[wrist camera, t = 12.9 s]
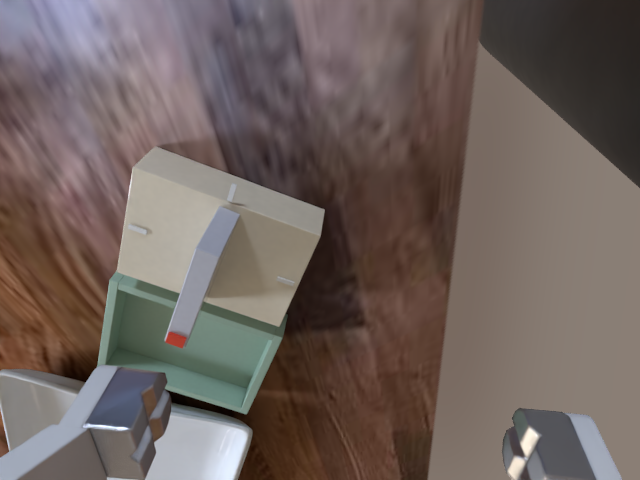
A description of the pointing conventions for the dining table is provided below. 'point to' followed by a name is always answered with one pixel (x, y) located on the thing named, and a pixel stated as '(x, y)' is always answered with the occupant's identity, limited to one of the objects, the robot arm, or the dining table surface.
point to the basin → (188, 344)
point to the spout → (201, 276)
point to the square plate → (171, 449)
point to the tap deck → (193, 219)
